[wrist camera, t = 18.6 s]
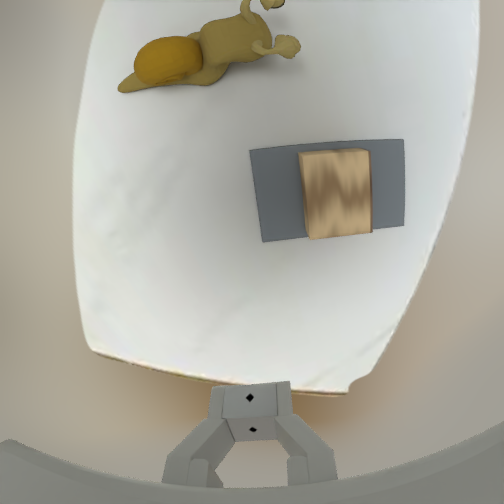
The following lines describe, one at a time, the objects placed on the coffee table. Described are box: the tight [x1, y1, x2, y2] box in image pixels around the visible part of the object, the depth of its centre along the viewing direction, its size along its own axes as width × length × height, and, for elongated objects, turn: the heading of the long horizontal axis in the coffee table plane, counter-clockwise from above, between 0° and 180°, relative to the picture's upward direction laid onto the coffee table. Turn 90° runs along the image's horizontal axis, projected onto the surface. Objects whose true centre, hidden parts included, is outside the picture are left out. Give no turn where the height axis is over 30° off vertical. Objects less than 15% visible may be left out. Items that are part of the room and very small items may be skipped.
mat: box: [250, 139, 405, 242], centre depth 36 cm, size 12×20×1 cm, turn 98°
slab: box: [298, 148, 373, 240], centre depth 34 cm, size 10×4×8 cm
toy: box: [118, 0, 301, 93], centre depth 25 cm, size 8×21×10 cm, turn 103°
